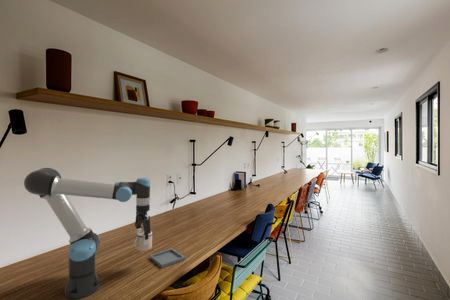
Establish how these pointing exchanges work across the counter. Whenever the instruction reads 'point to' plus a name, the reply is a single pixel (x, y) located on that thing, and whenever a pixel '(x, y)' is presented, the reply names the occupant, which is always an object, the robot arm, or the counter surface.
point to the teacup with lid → (142, 241)
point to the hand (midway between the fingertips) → (142, 241)
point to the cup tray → (167, 258)
